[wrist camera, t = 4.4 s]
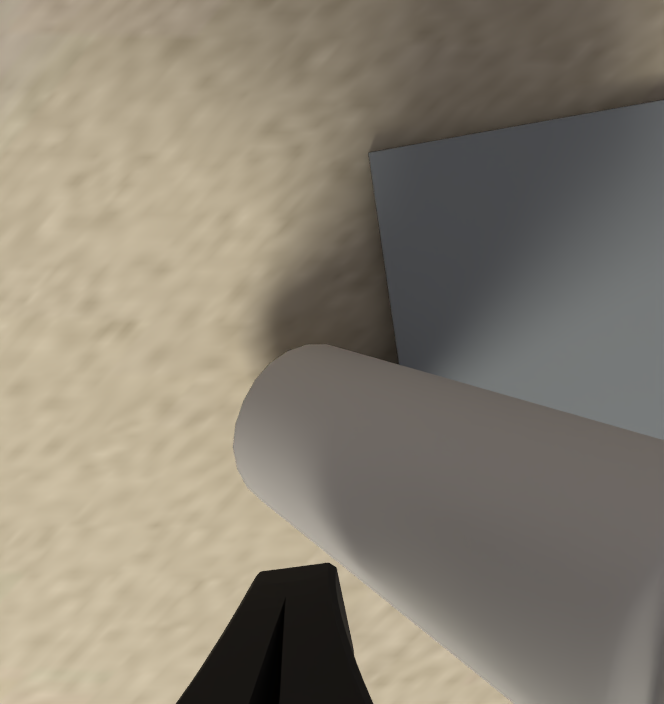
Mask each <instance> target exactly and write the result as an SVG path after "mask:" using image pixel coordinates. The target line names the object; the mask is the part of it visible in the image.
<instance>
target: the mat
mask: <svg viewBox="0 0 664 704" xmlns="http://www.w3.org/2000/svg"><path fill="white" fill-rule="evenodd" d="M368 154H369V161H370V168H371V175H372V182H373V189H374V196H375V203H376V210H377V217H378V223H379V230H380V237H381V244H382V251H383V258H384V265H385V272H386V279H387V286H388V292H389V299H390V306H391V313H392V320H393V327H394V334H395V341H396V348H397V354H398V361H399V365H402V366H406V367H409V368H413V369H416V370H420V371H423V372H427V373H430V374H434V375H437V376H441V377H444V378H448V379H451V380H455V381H458V382H462V383H465V384H469V385H472V386H476V387H479V388H483V389H486V390H490V391H493V392H497V393H500V394H504V395H507V396H511V397H514V398H518V399H521V400H525V401H528V402H532V403H535V404H539V405H542V406H546V407H549V408H553V409H556V410H560V411H563V412H567V413H570V414H574V415H577V416H581V417H584V418H588V419H591V420H595V421H598V422H602V423H605V424H609V425H612V426H616V427H619V428H623V429H626V430H630V431H633V432H637V433H640V434H644V435H647V436H651V437H654V438H658V439H662V440H664V100H658V101H652V102H647V103H641V104H636V105H630V106H625V107H619V108H613V109H608V110H602V111H597V112H591V113H586V114H580V115H575V116H569V117H563V118H558V119H552V120H547V121H541V122H536V123H530V124H524V125H519V126H513V127H508V128H502V129H497V130H491V131H485V132H480V133H474V134H469V135H463V136H458V137H452V138H446V139H441V140H435V141H430V142H424V143H419V144H413V145H407V146H402V147H396V148H391V149H385V150H380V151H374V152H368Z"/></svg>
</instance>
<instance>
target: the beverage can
mask: <svg viewBox="0 0 664 704" xmlns="http://www.w3.org/2000/svg"><path fill="white" fill-rule="evenodd" d="M233 450H234V455H235V460H236V465H237V470H238V472H239V473H240V475H241V477H242V479H243V481H244V482H245V484H246V486H247V488H248V489H249V490H250V491H251V492H253V493H254V494H255V495H256V496H257V497H258V498H259V499H260V500H261V501H262V502H264V503H265V504H266V505H267V506H269V507H270V508H271V509H272V510H274V511H275V512H276V513H277V514H279V515H280V516H281V517H282V518H284V519H285V520H286V521H287V522H288V523H290V524H291V525H292V526H293V527H295V528H296V529H297V530H298V531H300V532H301V533H302V534H303V535H305V536H306V537H307V538H308V539H310V540H311V541H312V542H313V543H315V544H316V545H317V546H318V547H320V548H321V549H322V550H323V551H325V552H326V553H327V554H328V555H330V556H331V557H332V558H333V559H335V560H336V561H337V562H338V563H339V564H341V565H342V566H343V567H344V568H346V569H347V570H348V571H349V572H351V573H352V574H353V575H354V576H356V577H357V578H358V579H359V580H361V581H362V582H363V583H364V584H366V585H367V586H368V587H369V588H371V589H372V590H373V591H374V592H376V593H377V594H378V595H379V596H381V597H382V598H383V599H384V600H386V601H387V602H388V603H389V604H390V605H392V606H393V607H394V608H395V609H397V610H398V611H399V612H400V613H402V614H403V615H404V616H405V617H407V618H408V619H409V620H410V621H412V622H413V623H414V624H415V625H417V626H418V627H419V628H420V629H422V630H423V631H424V632H425V633H427V634H428V635H429V636H430V637H432V638H433V639H434V640H435V641H437V642H438V643H439V644H440V645H441V646H443V647H444V648H445V649H446V650H448V651H449V652H450V653H451V654H453V655H454V656H455V657H456V658H458V659H459V660H460V661H461V662H463V663H464V664H465V665H466V666H468V667H469V668H470V669H471V670H473V671H474V672H475V673H476V674H478V675H479V676H480V677H481V678H483V679H484V680H485V681H486V682H487V683H489V684H490V685H491V686H492V687H494V688H495V689H496V690H497V691H499V692H500V693H501V694H502V695H504V696H505V697H506V698H507V699H509V700H510V701H511V702H512V703H514V704H664V440H662V439H658V438H654V437H651V436H647V435H644V434H640V433H637V432H633V431H630V430H626V429H623V428H619V427H616V426H612V425H609V424H605V423H602V422H598V421H595V420H591V419H588V418H584V417H581V416H577V415H574V414H570V413H567V412H563V411H560V410H556V409H553V408H549V407H546V406H542V405H539V404H535V403H532V402H528V401H525V400H521V399H518V398H514V397H511V396H507V395H504V394H500V393H497V392H493V391H490V390H486V389H483V388H479V387H476V386H472V385H469V384H465V383H462V382H458V381H455V380H451V379H448V378H444V377H441V376H437V375H434V374H430V373H427V372H423V371H420V370H416V369H413V368H409V367H406V366H402V365H398V364H395V363H391V362H388V361H384V360H381V359H377V358H374V357H370V356H367V355H363V354H360V353H356V352H353V351H349V350H346V349H342V348H339V347H335V346H332V345H328V344H307V345H304V346H301V347H298V348H295V349H292V350H289V351H287V352H285V353H284V354H282V355H281V356H280V357H278V358H277V359H275V360H274V361H272V362H271V363H270V364H269V365H268V366H267V367H266V368H265V369H264V370H263V372H262V373H261V374H260V375H259V376H258V377H257V378H256V380H255V381H254V383H253V385H252V387H251V388H250V390H249V392H248V394H247V395H246V397H245V399H244V401H243V404H242V407H241V410H240V412H239V415H238V418H237V421H236V424H235V434H234V443H233Z"/></svg>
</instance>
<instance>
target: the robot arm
mask: <svg viewBox="0 0 664 704" xmlns="http://www.w3.org/2000/svg"><path fill="white" fill-rule="evenodd" d="M176 704H373V702H372V700H371V697H370V695H369V693H368V690H367V688H366V686H365V683H364V681H363V678H362V676H361V673H360V671H359V668H358V665H357V663H356V660H355V657H354V650H353V645H352V640H351V635H350V630H349V625H348V621H347V616H346V611H345V606H344V601H343V597H342V592H341V587H340V582H339V577H338V573H337V568H336V567H335V566H333V565H332V564H330V563H323V564H315V565H307V566H300V567H292V568H285V569H277V570H269V571H262V572H260V573H259V574H258V575H257V576H256V578H255V579H254V581H253V583H252V584H251V586H250V588H249V590H248V591H247V593H246V595H245V597H244V598H243V600H242V602H241V604H240V605H239V607H238V609H237V610H236V612H235V614H234V615H233V617H232V619H231V620H230V622H229V624H228V625H227V627H226V629H225V630H224V632H223V634H222V635H221V637H220V639H219V640H218V642H217V643H216V645H215V646H214V648H213V649H212V651H211V653H210V654H209V656H208V657H207V659H206V660H205V662H204V664H203V665H202V667H201V668H200V670H199V671H198V673H197V674H196V676H195V677H194V679H193V680H192V682H191V683H190V685H189V686H188V687H187V689H186V690H185V692H184V693H183V694H182V696H181V697H180V699H179V700H178V701H177V703H176Z"/></svg>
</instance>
